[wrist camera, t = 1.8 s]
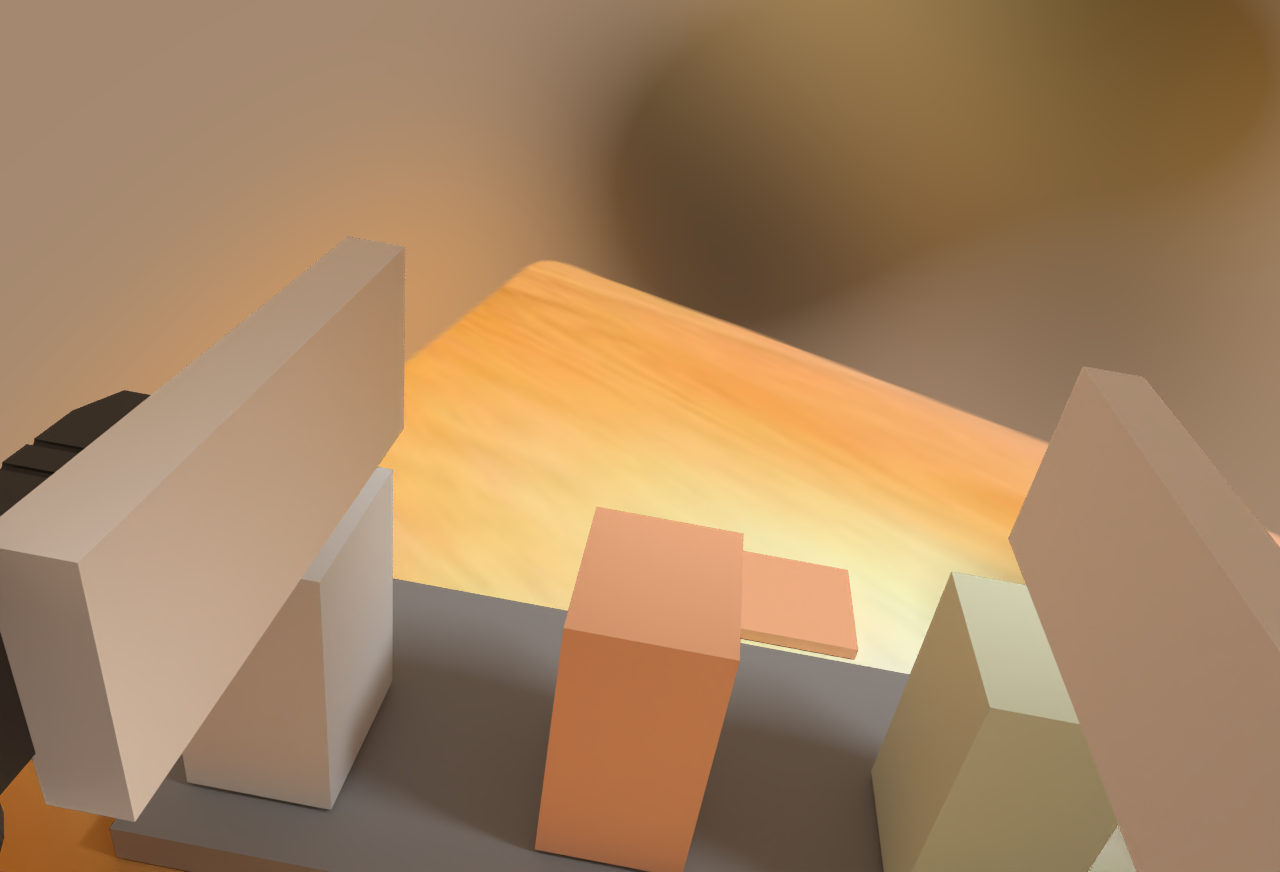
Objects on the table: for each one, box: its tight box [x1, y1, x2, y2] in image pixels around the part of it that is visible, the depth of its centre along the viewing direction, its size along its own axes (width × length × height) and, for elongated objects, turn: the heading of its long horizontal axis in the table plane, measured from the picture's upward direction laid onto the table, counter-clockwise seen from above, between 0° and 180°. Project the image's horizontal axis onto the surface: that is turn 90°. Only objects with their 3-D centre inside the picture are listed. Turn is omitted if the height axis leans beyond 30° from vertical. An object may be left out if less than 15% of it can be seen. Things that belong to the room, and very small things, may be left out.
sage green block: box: [871, 572, 1118, 872], centre depth 31 cm, size 5×6×10 cm
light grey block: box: [182, 467, 393, 810], centre depth 31 cm, size 5×6×10 cm
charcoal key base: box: [109, 579, 910, 872], centre depth 36 cm, size 32×14×2 cm, turn 84°
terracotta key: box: [535, 507, 744, 872], centre depth 31 cm, size 5×6×10 cm
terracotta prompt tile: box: [741, 551, 858, 659], centre depth 46 cm, size 6×6×1 cm
